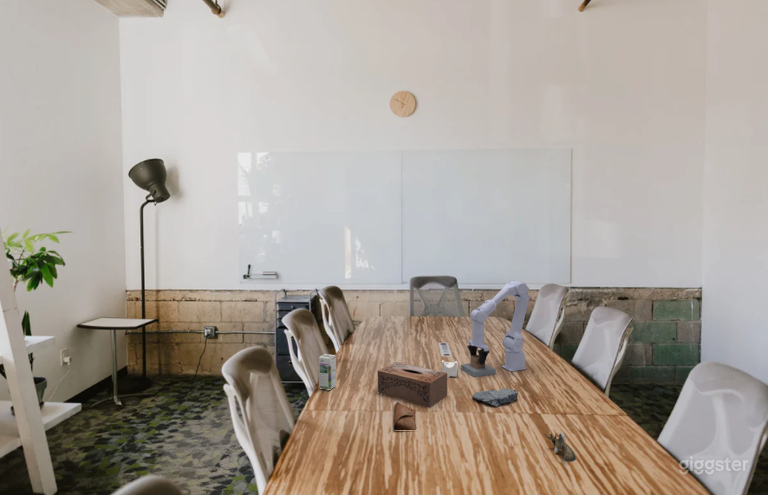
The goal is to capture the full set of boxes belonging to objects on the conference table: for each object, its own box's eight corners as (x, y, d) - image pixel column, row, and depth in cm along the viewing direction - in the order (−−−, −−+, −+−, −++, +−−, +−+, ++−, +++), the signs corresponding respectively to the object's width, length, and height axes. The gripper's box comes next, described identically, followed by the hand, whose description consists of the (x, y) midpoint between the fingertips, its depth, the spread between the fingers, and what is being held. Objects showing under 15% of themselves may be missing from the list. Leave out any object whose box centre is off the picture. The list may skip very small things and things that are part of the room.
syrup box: (318, 389, 181) (318, 356, 181) (325, 384, 187) (324, 353, 186) (330, 391, 179) (330, 358, 179) (336, 386, 185) (336, 354, 185)
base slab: (481, 366, 211) (481, 361, 211) (495, 374, 200) (495, 368, 200) (461, 369, 207) (461, 364, 207) (474, 377, 196) (474, 372, 196)
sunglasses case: (418, 431, 142) (408, 415, 142) (401, 441, 143) (391, 425, 143) (415, 409, 160) (407, 394, 160) (400, 418, 161) (391, 403, 161)
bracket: (456, 378, 195) (456, 362, 195) (441, 377, 197) (441, 361, 196) (457, 369, 208) (457, 354, 208) (443, 368, 209) (443, 353, 209)
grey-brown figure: (538, 445, 131) (555, 454, 122) (547, 424, 133) (565, 431, 124) (557, 456, 132) (576, 466, 123) (566, 435, 133) (585, 444, 125)
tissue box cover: (447, 396, 174) (447, 372, 174) (430, 408, 162) (430, 382, 162) (396, 383, 189) (396, 361, 189) (377, 393, 178) (377, 370, 177)
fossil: (468, 398, 172) (468, 389, 172) (502, 391, 179) (502, 382, 179) (488, 410, 160) (487, 400, 160) (523, 402, 167) (523, 392, 167)
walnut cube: (479, 364, 207) (479, 354, 207) (485, 367, 202) (485, 357, 202) (470, 365, 205) (470, 355, 205) (476, 368, 200) (476, 358, 200)
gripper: (463, 331, 208) (463, 358, 209) (479, 338, 195) (479, 367, 195) (475, 330, 211) (475, 357, 211) (492, 337, 197) (492, 365, 198)
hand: (478, 361), depth 203 cm, fingers open, 7 cm apart
